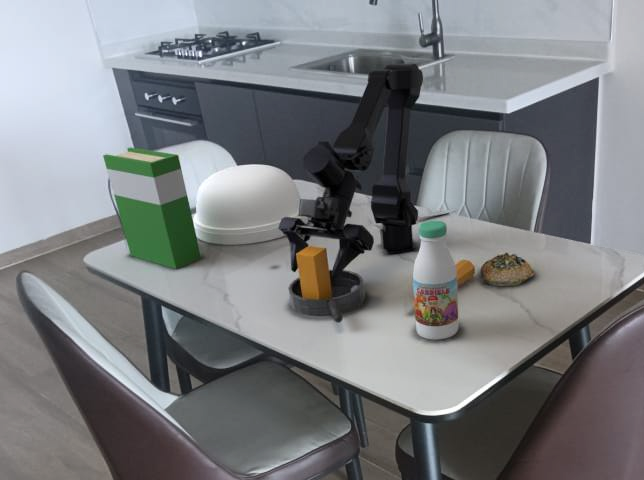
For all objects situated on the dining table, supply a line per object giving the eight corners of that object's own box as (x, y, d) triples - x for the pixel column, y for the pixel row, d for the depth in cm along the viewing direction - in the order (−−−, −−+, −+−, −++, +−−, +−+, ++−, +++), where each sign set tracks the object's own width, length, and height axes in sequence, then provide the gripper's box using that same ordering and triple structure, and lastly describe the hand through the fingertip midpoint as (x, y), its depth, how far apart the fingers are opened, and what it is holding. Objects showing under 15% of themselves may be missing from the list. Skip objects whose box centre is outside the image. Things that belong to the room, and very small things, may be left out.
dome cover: (167, 233, 190) (154, 179, 183) (248, 199, 211) (239, 149, 203) (256, 252, 174) (246, 193, 167) (335, 213, 194) (329, 159, 187)
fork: (460, 211, 188) (460, 204, 187) (379, 234, 178) (379, 227, 177) (452, 208, 191) (452, 201, 190) (372, 231, 181) (372, 224, 180)
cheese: (316, 300, 147) (308, 245, 141) (333, 303, 146) (326, 247, 139) (304, 309, 144) (295, 253, 138) (321, 312, 142) (313, 256, 136)
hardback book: (130, 255, 179) (102, 155, 166) (155, 245, 183) (130, 147, 171) (176, 268, 169) (150, 163, 156) (201, 258, 174) (178, 154, 161)
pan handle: (327, 305, 141) (326, 298, 140) (336, 304, 141) (335, 296, 140) (335, 324, 134) (334, 316, 133) (343, 323, 134) (342, 315, 133)
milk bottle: (413, 323, 136) (407, 219, 126) (455, 319, 137) (451, 214, 126) (418, 342, 130) (412, 234, 119) (461, 338, 130) (459, 229, 120)
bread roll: (489, 262, 158) (492, 240, 155) (539, 274, 154) (543, 252, 151) (470, 284, 150) (473, 262, 147) (522, 298, 146) (526, 275, 143)
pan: (357, 282, 155) (355, 265, 153) (371, 310, 142) (369, 293, 140) (287, 293, 152) (285, 276, 150) (295, 323, 140) (293, 305, 138)
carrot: (465, 278, 154) (456, 258, 152) (481, 274, 151) (473, 254, 149) (408, 324, 142) (398, 303, 141) (425, 321, 139) (415, 300, 137)
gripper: (276, 175, 140) (250, 251, 138) (360, 182, 132) (335, 262, 130) (304, 203, 150) (281, 274, 148) (384, 211, 142) (361, 286, 139)
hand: (312, 274), depth 141 cm, fingers open, 9 cm apart
